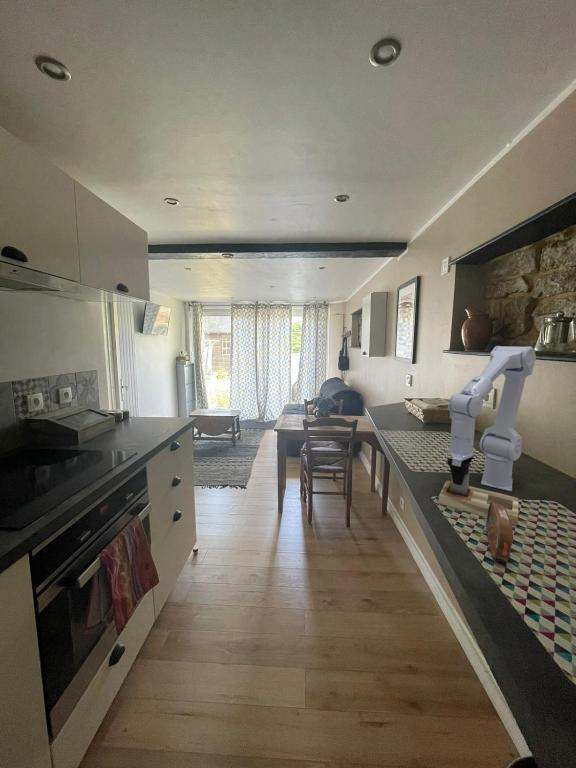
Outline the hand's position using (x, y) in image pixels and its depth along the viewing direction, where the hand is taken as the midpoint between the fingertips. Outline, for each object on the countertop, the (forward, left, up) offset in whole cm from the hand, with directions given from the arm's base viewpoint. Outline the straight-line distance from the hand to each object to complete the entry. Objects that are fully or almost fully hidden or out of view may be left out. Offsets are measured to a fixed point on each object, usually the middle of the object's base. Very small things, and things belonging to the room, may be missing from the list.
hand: (458, 481), depth 87 cm
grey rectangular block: (0, 0, -3) cm, 4 cm away
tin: (+17, +11, -6) cm, 21 cm away
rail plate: (0, +5, -6) cm, 8 cm away
